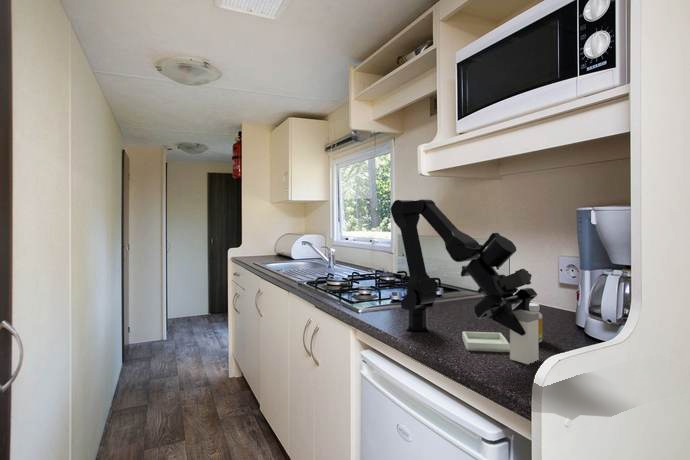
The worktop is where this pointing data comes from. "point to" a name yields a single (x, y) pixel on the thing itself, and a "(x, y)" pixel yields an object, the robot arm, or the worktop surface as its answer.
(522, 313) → the block
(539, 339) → the supplement bottle
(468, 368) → the worktop surface
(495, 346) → the tray
